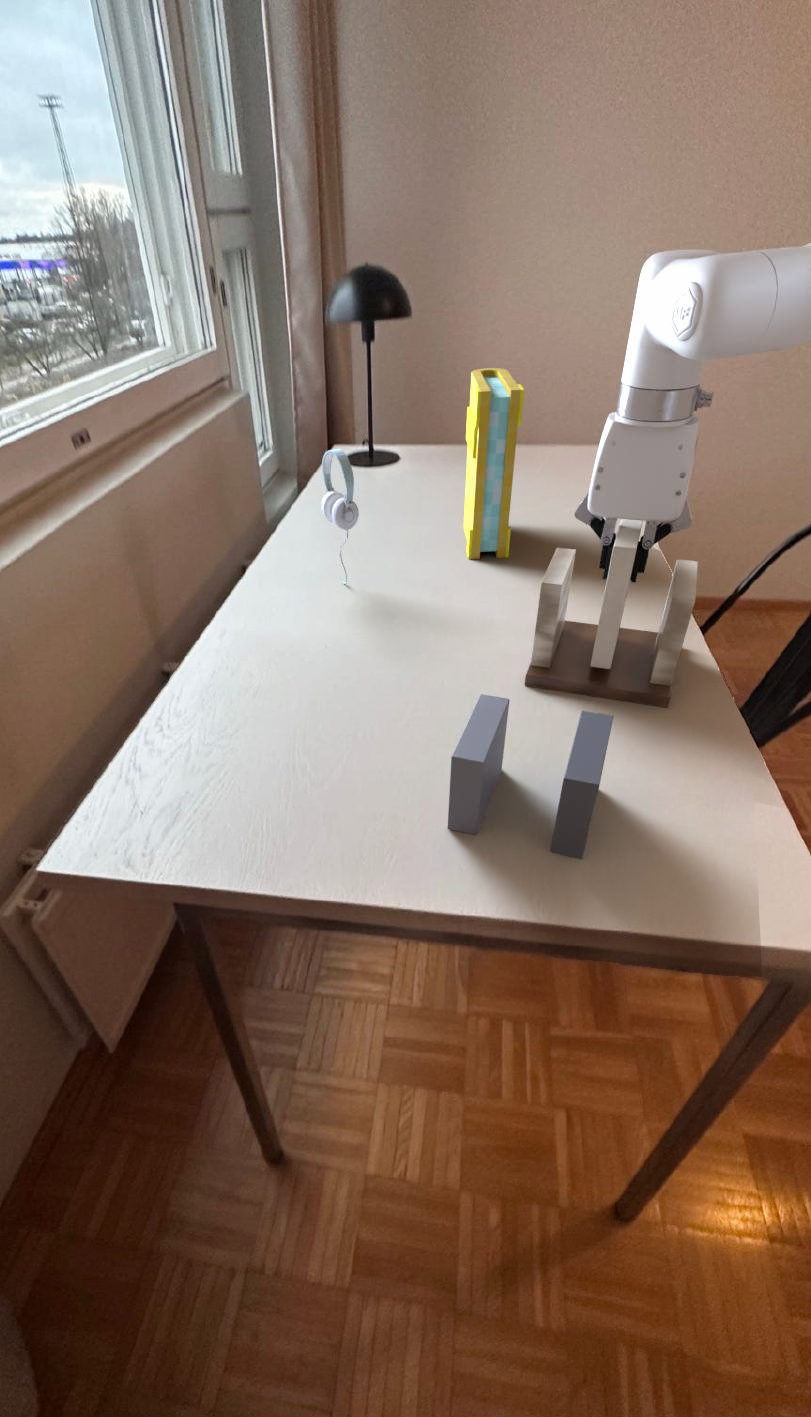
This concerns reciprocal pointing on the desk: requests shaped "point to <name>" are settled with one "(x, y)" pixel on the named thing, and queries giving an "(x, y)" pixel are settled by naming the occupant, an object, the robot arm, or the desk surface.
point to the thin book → (616, 592)
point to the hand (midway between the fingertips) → (620, 575)
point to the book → (490, 460)
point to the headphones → (339, 495)
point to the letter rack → (638, 654)
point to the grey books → (482, 765)
